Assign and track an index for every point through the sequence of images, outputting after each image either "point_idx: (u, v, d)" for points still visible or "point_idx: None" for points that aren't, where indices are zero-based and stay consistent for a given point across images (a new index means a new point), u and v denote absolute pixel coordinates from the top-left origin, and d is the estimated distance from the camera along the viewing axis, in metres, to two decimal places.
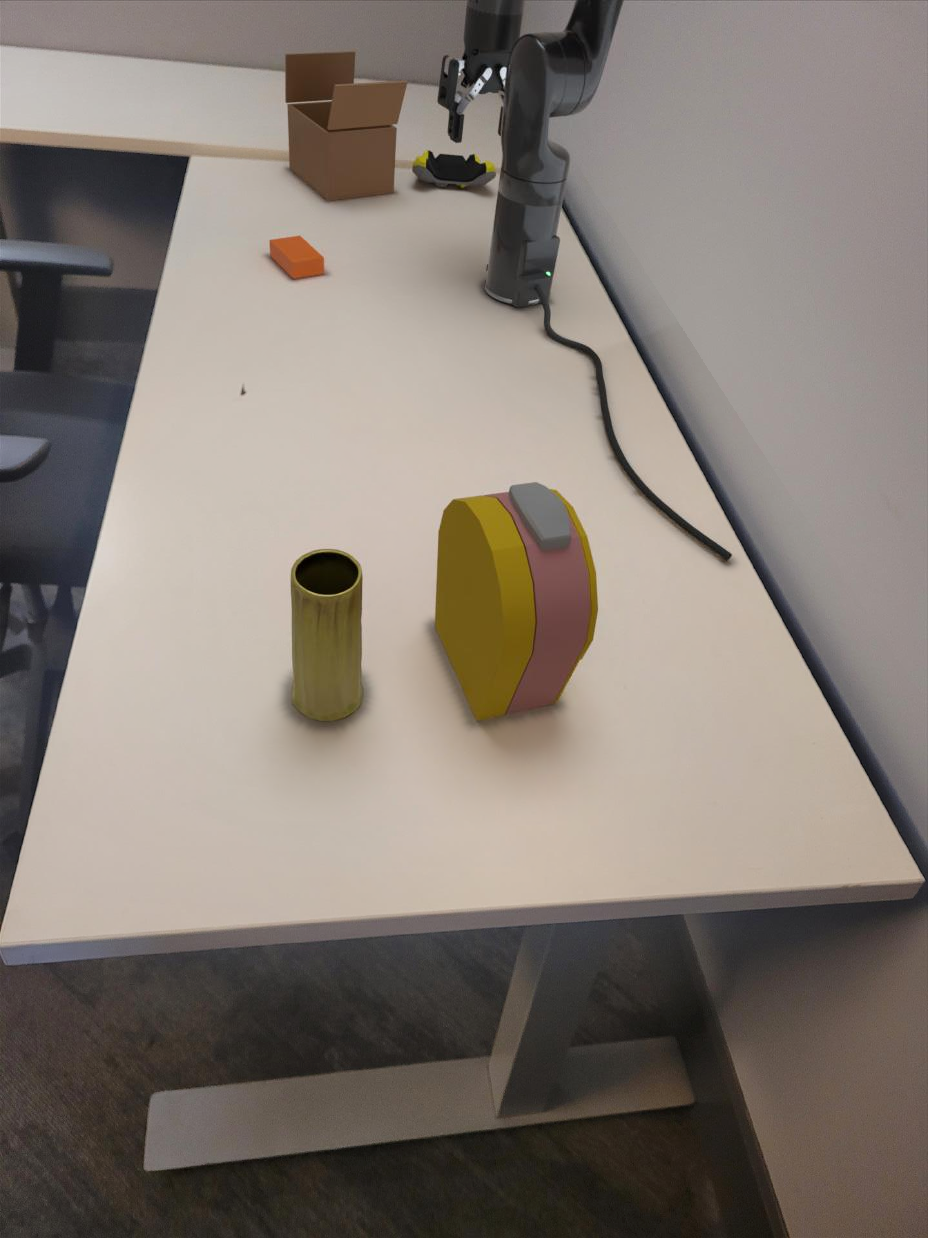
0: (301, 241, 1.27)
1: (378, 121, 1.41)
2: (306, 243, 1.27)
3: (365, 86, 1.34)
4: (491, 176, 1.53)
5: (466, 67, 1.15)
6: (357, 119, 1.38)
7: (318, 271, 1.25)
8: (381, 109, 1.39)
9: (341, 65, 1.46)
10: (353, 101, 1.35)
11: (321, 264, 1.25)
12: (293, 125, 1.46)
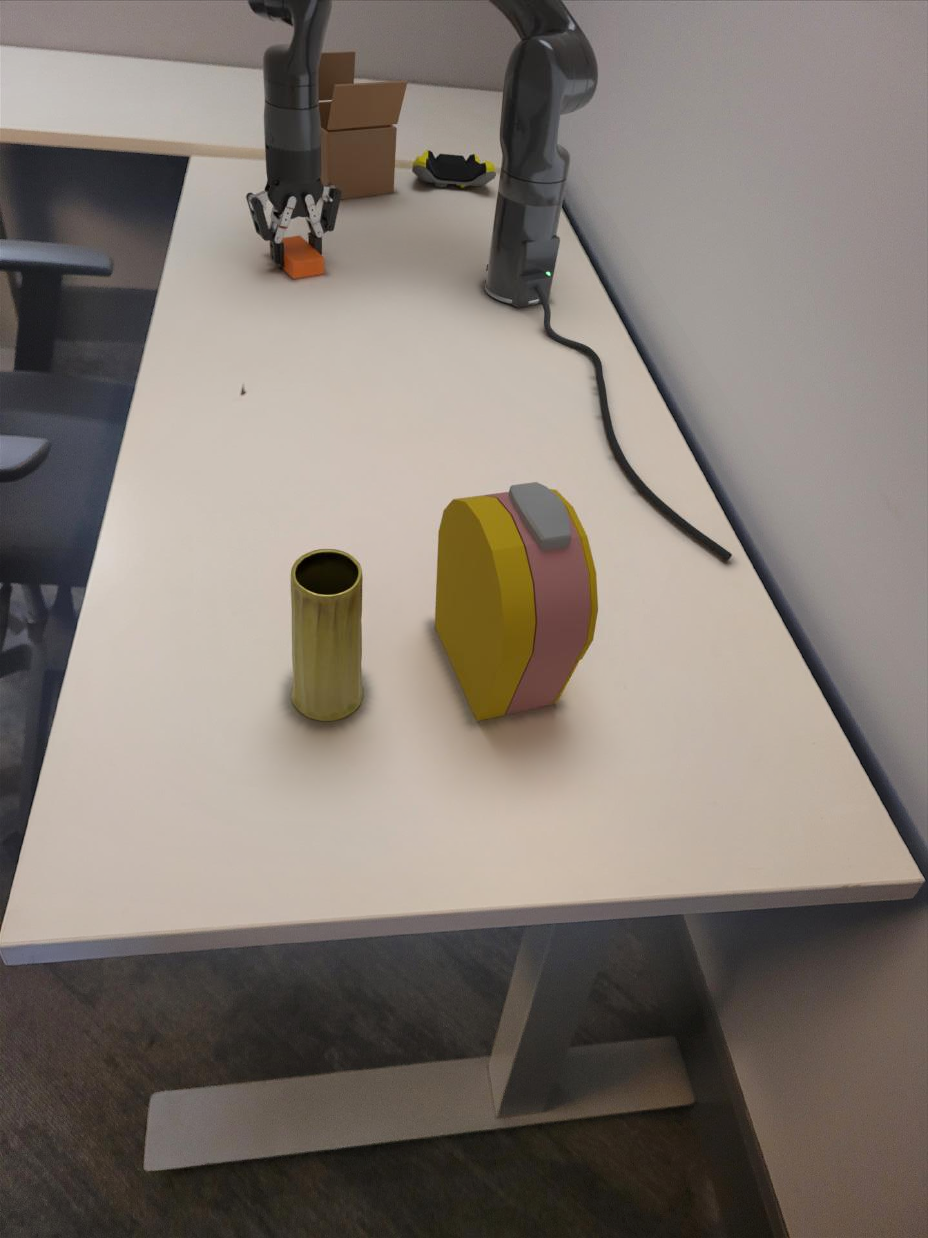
0: (301, 241, 1.27)
1: (378, 121, 1.41)
2: (306, 243, 1.27)
3: (365, 86, 1.34)
4: (491, 176, 1.53)
5: None
6: (357, 119, 1.38)
7: (318, 271, 1.25)
8: (381, 109, 1.39)
9: (341, 65, 1.46)
10: (353, 101, 1.35)
11: (321, 264, 1.25)
12: None
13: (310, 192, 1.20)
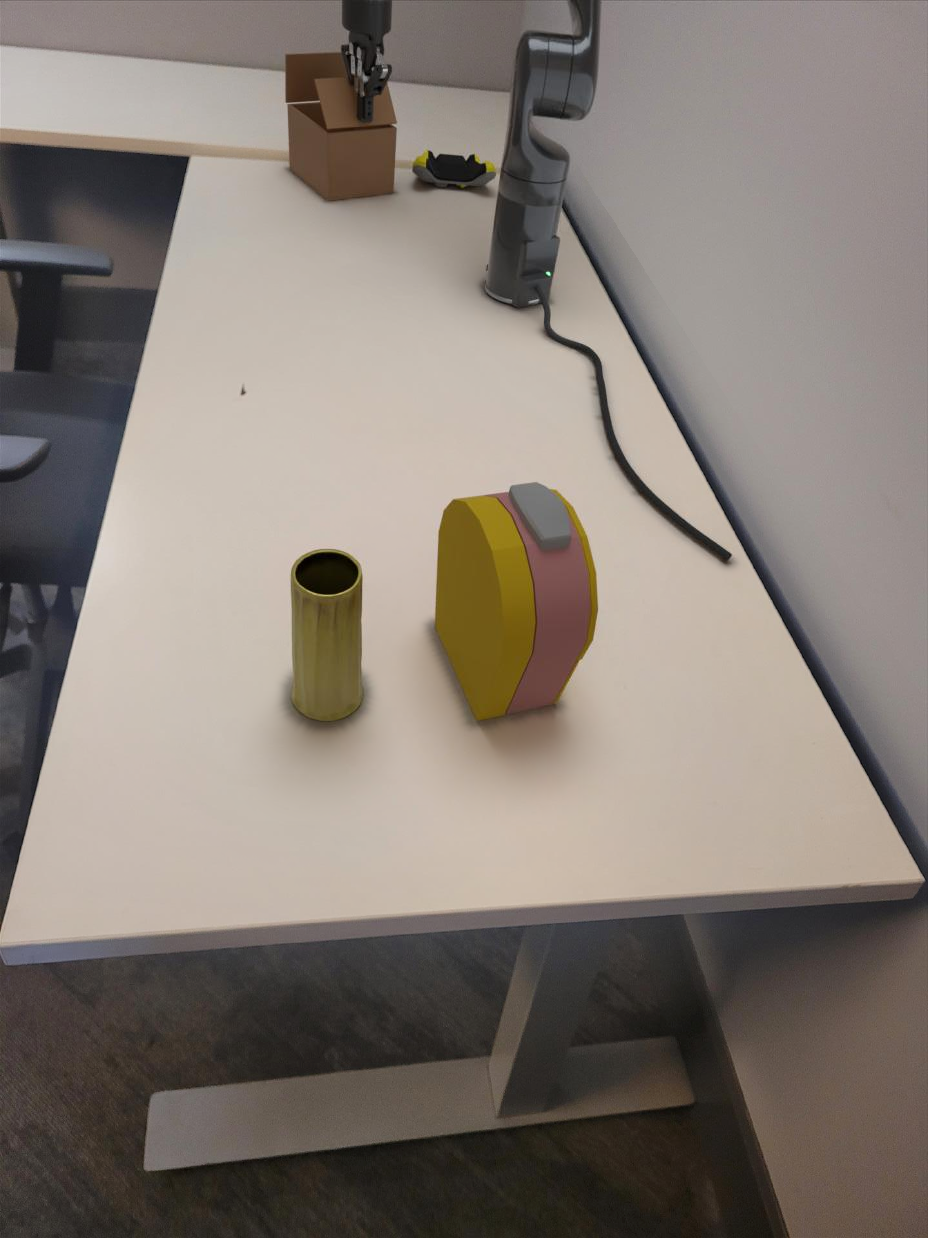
0: None
1: (376, 119, 1.41)
2: None
3: (345, 79, 1.38)
4: (491, 176, 1.53)
5: None
6: (353, 117, 1.39)
7: None
8: (373, 105, 1.40)
9: (341, 65, 1.46)
10: (339, 95, 1.38)
11: None
12: (293, 125, 1.46)
13: (365, 51, 1.30)
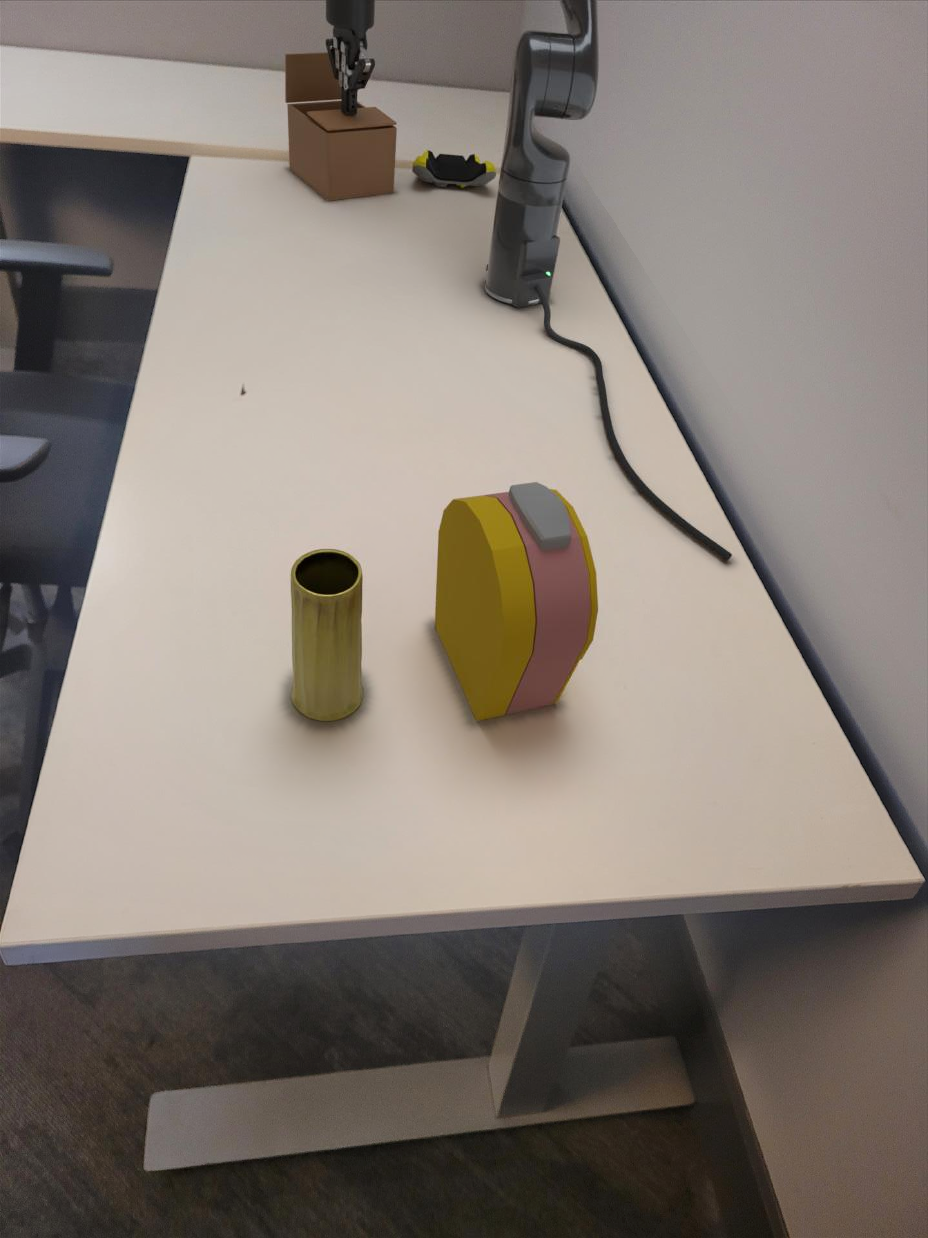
0: None
1: (374, 121, 1.42)
2: None
3: (337, 110, 1.43)
4: (491, 176, 1.53)
5: None
6: (351, 122, 1.40)
7: None
8: (369, 117, 1.43)
9: None
10: (334, 115, 1.41)
11: None
12: (293, 125, 1.46)
13: (349, 45, 1.34)
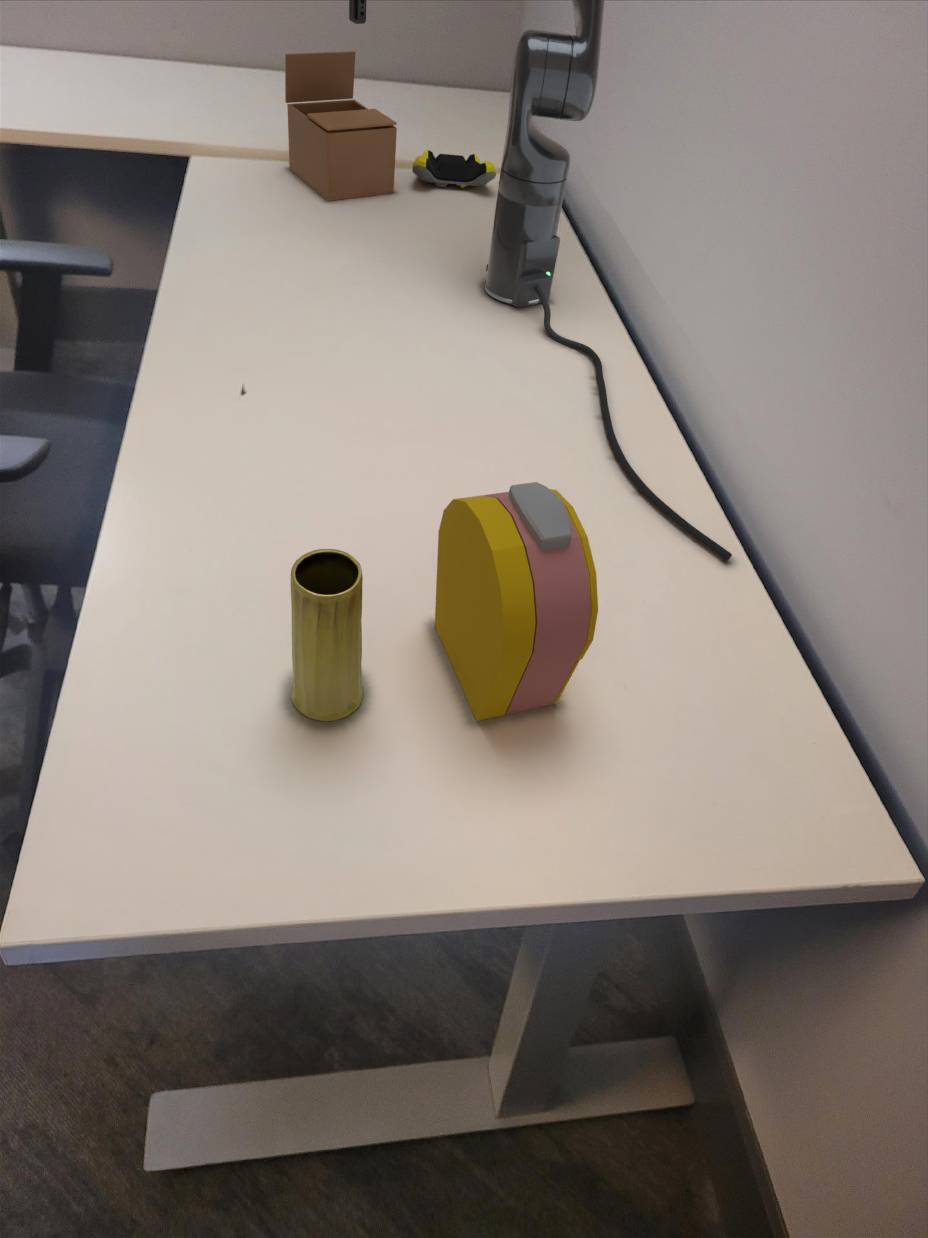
0: None
1: (374, 122, 1.42)
2: None
3: (337, 111, 1.43)
4: (491, 176, 1.53)
5: None
6: (351, 122, 1.40)
7: None
8: (369, 118, 1.43)
9: (341, 65, 1.46)
10: (334, 117, 1.41)
11: None
12: (293, 125, 1.46)
13: None
